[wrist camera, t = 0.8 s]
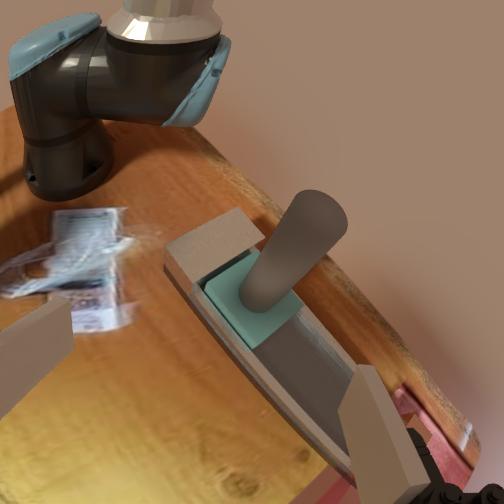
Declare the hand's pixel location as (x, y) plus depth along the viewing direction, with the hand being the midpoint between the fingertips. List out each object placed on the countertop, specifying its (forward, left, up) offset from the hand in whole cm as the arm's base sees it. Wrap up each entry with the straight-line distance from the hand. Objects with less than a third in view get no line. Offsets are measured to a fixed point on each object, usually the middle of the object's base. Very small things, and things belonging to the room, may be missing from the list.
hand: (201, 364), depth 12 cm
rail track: (+1, +13, -20) cm, 24 cm away
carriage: (-7, +9, -18) cm, 21 cm away
